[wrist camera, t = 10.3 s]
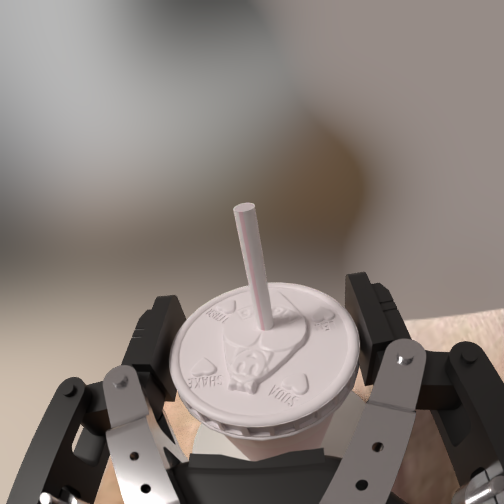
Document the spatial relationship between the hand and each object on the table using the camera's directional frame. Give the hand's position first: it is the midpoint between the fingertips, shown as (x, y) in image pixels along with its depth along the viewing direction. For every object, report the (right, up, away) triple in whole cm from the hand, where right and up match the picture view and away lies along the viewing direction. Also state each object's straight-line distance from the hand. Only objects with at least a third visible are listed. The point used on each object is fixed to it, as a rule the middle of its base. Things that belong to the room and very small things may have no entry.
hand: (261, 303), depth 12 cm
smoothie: (+1, -9, +3) cm, 10 cm away
